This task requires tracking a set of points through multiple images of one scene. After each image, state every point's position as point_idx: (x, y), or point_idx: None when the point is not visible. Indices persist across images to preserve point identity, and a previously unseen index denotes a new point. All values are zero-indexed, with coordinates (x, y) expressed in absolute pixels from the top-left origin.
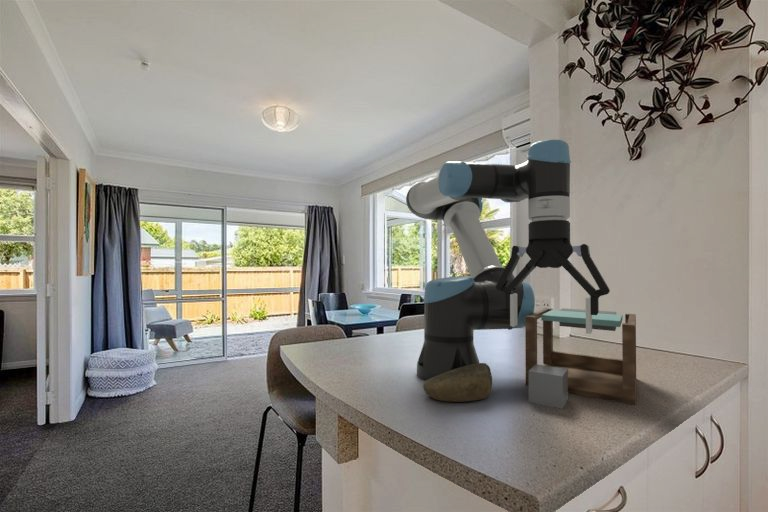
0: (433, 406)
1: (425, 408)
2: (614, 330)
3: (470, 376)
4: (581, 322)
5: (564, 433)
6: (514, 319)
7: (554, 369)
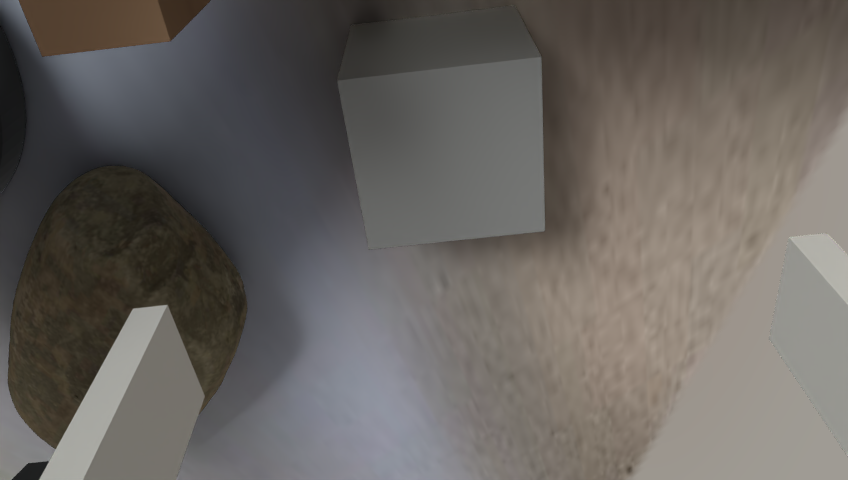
0: None
1: None
2: None
3: None
4: None
5: (568, 349)
6: (182, 430)
7: (474, 127)
